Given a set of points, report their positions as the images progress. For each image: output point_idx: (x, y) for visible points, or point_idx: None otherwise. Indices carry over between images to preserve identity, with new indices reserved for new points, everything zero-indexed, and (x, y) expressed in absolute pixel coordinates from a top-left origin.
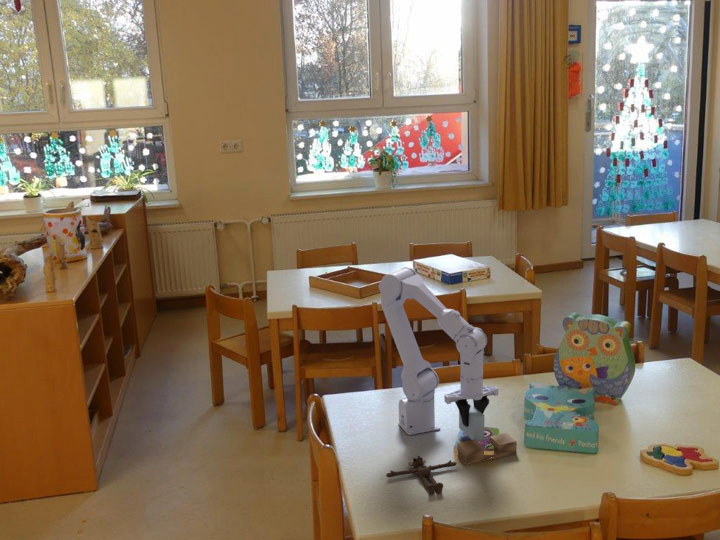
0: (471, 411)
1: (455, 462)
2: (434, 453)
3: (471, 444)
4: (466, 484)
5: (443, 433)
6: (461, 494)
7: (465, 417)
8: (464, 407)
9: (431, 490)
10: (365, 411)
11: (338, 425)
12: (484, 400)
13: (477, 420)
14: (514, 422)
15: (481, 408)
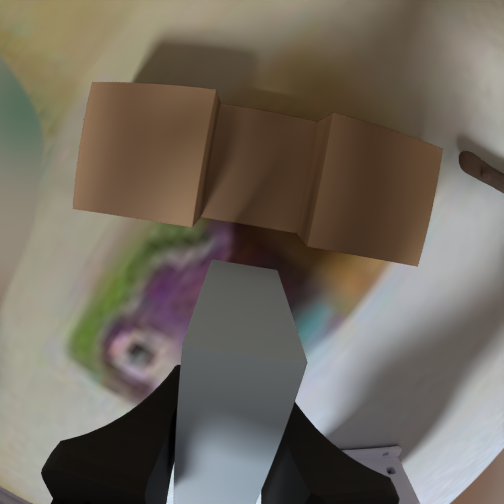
0: (245, 453)
1: (466, 159)
2: (437, 311)
3: (370, 199)
4: (470, 44)
5: None
6: (499, 24)
7: (309, 421)
8: (380, 482)
9: None
10: None
11: (451, 498)
12: (97, 495)
13: (267, 336)
14: (3, 345)
15: (153, 440)
